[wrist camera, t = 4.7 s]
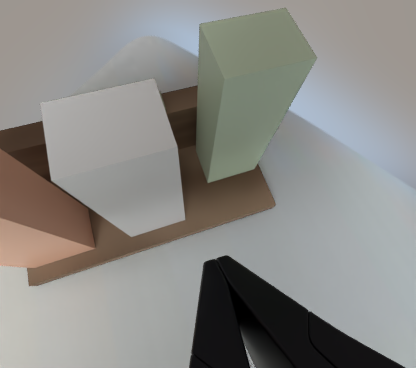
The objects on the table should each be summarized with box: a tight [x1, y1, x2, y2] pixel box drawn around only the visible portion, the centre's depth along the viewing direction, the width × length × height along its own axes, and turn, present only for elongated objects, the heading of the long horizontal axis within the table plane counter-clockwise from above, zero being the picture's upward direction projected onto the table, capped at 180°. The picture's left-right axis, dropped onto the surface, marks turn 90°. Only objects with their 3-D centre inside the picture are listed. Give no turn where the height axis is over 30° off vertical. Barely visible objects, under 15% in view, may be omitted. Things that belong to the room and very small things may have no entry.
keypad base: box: [0, 86, 276, 286], centre depth 17 cm, size 8×18×6 cm, turn 109°
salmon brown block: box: [0, 149, 95, 268], centre depth 13 cm, size 3×4×11 cm
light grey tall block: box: [40, 78, 185, 237], centre depth 14 cm, size 3×4×11 cm
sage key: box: [196, 8, 317, 183], centre depth 15 cm, size 3×4×11 cm
